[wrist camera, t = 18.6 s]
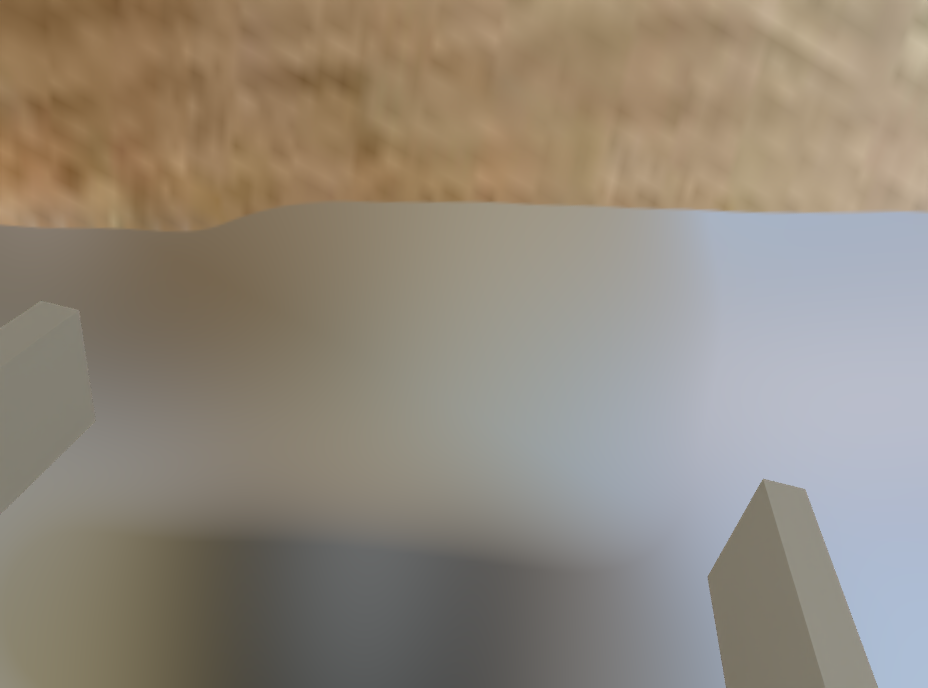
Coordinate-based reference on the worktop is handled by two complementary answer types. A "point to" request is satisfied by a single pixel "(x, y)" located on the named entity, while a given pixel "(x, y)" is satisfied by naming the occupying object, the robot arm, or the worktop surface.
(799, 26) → the worktop surface
